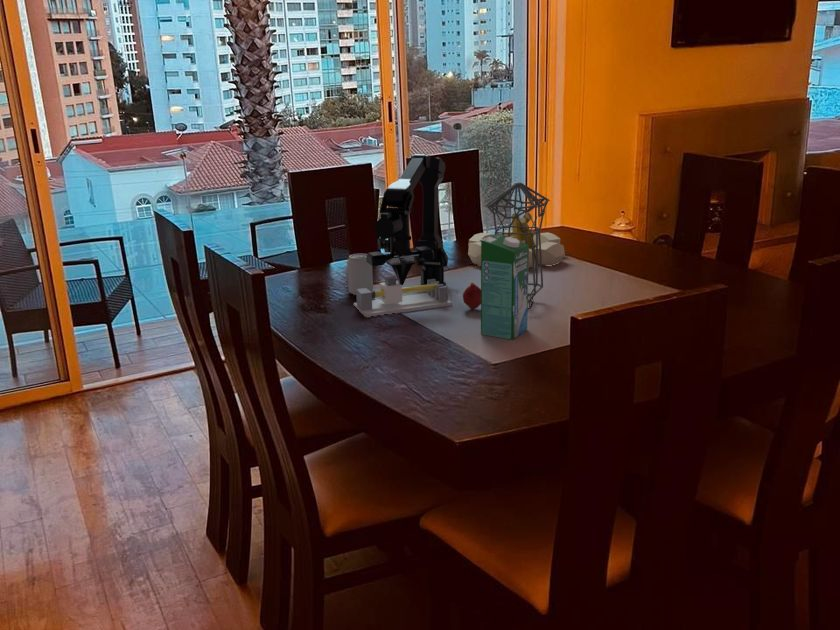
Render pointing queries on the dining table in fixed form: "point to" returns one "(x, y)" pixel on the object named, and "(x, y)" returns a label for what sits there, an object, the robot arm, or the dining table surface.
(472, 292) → the onion
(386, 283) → the sleeve
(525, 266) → the milk carton
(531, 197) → the geometric lantern
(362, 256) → the can
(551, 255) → the campfire
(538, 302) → the dining table surface
